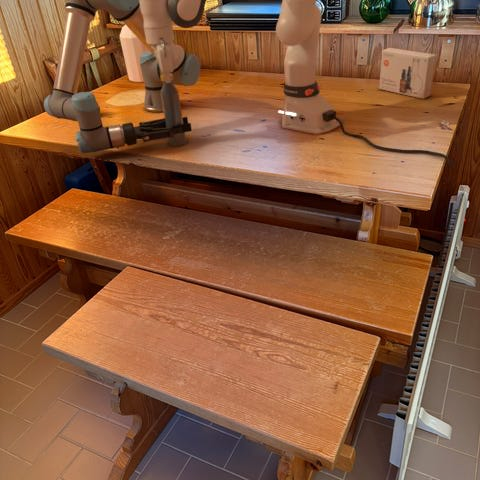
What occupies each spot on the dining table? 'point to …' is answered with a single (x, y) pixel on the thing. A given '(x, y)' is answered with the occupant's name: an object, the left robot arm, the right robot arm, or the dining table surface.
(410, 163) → the dining table surface
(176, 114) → the bottle
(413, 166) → the dining table surface
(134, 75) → the container
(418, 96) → the skincare box
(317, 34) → the right robot arm
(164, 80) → the cap
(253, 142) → the dining table surface
